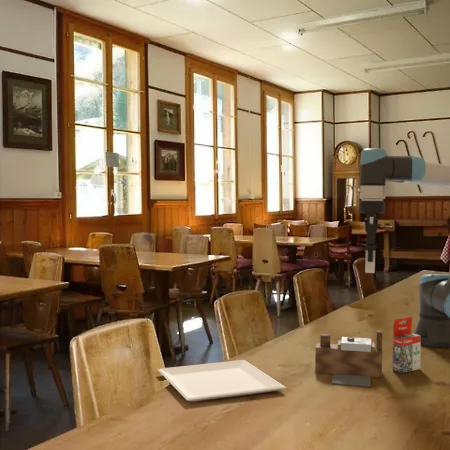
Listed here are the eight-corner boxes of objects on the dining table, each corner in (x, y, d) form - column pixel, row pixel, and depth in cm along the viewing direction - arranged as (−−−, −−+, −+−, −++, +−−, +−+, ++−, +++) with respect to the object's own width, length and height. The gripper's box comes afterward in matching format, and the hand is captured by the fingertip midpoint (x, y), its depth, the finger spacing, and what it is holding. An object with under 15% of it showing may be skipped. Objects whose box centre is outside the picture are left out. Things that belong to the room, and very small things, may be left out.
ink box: (420, 369, 175) (422, 318, 174) (401, 374, 171) (403, 321, 170) (410, 366, 178) (411, 316, 177) (391, 370, 174) (392, 319, 173)
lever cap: (370, 345, 174) (370, 336, 174) (371, 351, 167) (371, 342, 167) (341, 343, 175) (342, 334, 175) (341, 350, 169) (341, 340, 168)
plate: (187, 407, 144) (187, 399, 144) (157, 375, 168) (157, 368, 168) (286, 394, 154) (286, 386, 154) (244, 366, 178) (244, 359, 178)
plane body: (381, 371, 173) (382, 329, 172) (381, 377, 168) (382, 333, 167) (316, 367, 176) (317, 325, 176) (315, 372, 172) (315, 329, 171)
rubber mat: (370, 377, 167) (370, 376, 167) (370, 387, 159) (370, 385, 159) (333, 375, 169) (333, 373, 169) (331, 384, 161) (331, 382, 161)
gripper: (360, 199, 199) (358, 264, 200) (358, 200, 175) (356, 274, 176) (384, 199, 197) (382, 265, 198) (385, 200, 173) (383, 276, 174)
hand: (369, 270), depth 187 cm, fingers open, 13 cm apart
